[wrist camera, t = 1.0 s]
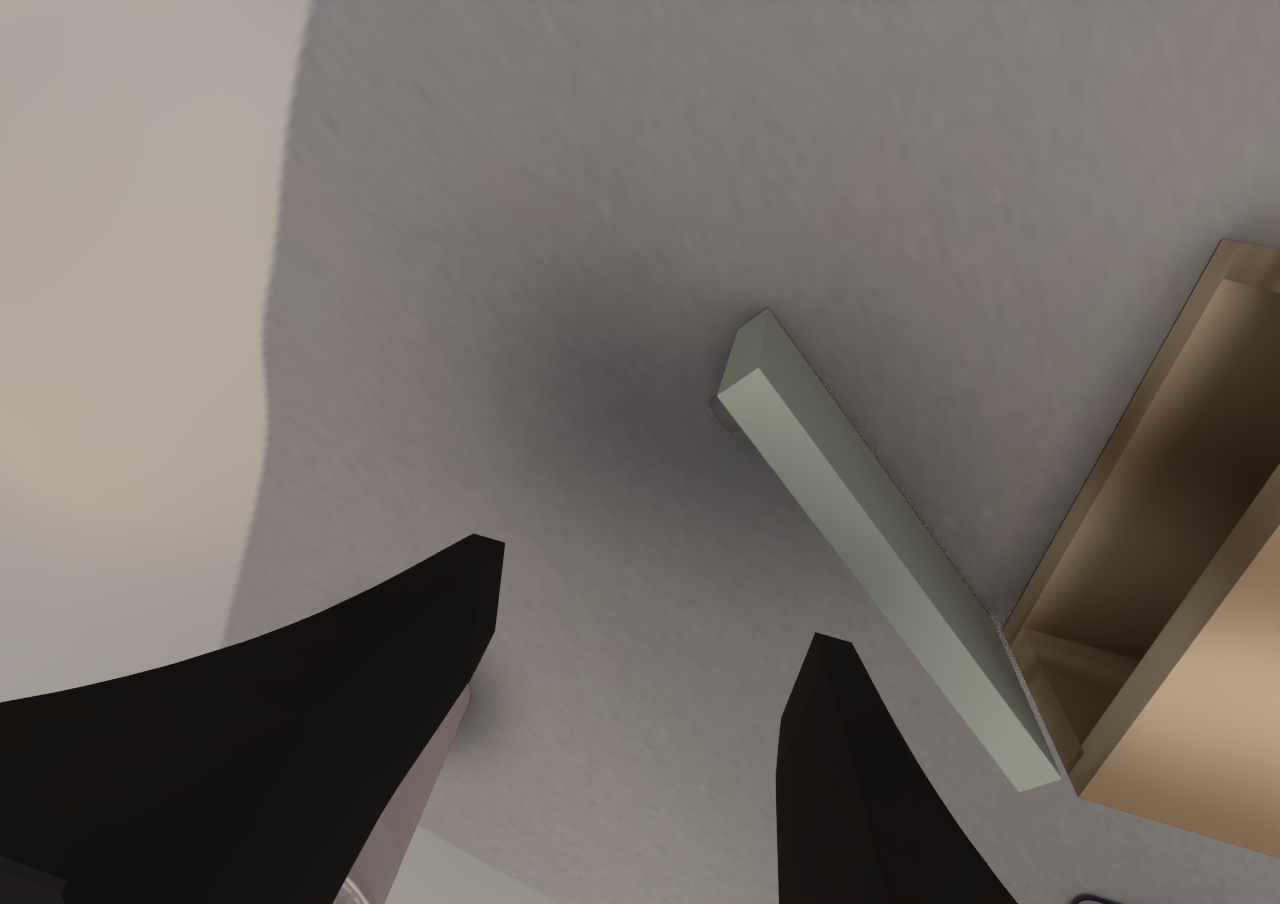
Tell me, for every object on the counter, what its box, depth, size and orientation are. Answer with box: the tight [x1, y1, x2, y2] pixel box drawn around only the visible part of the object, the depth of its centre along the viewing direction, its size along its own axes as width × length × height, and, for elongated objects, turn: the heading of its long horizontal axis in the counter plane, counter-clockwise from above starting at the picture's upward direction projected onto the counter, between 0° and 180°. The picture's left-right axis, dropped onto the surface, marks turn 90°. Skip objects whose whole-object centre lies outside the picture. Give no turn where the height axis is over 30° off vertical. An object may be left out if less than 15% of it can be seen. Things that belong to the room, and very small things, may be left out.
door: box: [709, 308, 1062, 792], centre depth 17 cm, size 12×2×6 cm, turn 39°
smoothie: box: [333, 683, 471, 904], centre depth 21 cm, size 6×6×14 cm
